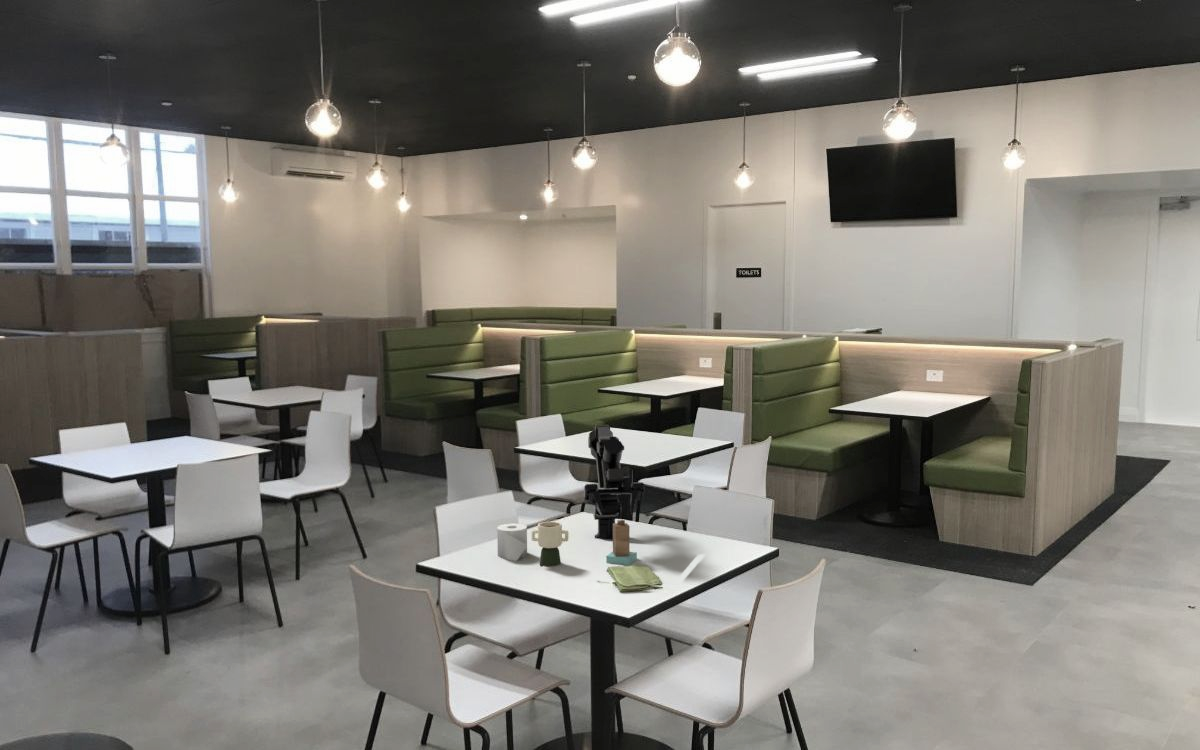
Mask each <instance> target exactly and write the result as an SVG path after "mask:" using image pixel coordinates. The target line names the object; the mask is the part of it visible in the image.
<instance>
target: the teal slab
mask: <svg viewBox="0 0 1200 750" xmlns="http://www.w3.org/2000/svg"><path fill="white" fill-rule="evenodd" d="M605 557H606V563H607V564H615V565H616V564H617V565H625V566H630V565H631V564H632V563H633V562H634V561H636V560H637V559H638V552H636V551H630V555H628V556H615V555H614V554H613V551H611V552H610V553H609V554H608V555H606V556H605Z"/></svg>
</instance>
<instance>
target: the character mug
mask: <svg viewBox="0 0 1200 750" xmlns="http://www.w3.org/2000/svg"><path fill="white" fill-rule="evenodd" d="M536 534H537V537H536ZM563 534H564V537H563ZM531 540H532V542H537V543H538V546H539V547H540V548H541V551H540V557H539V558H540V559H539V566H540V567H541V568H543V567H557V566H560V565H561V563H562V561H561V556H560V549H559V547H561V546H562V544H563V542H564V543H565V542H568V541H569V530H563V524H562V523H561V522H558V521H544V522H540V523H538V524H537V529H533V530H531Z"/></svg>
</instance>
